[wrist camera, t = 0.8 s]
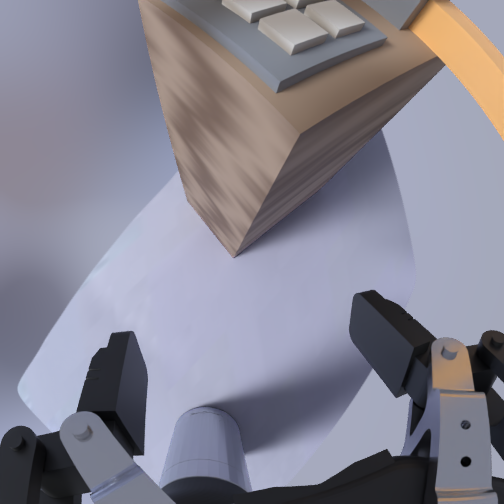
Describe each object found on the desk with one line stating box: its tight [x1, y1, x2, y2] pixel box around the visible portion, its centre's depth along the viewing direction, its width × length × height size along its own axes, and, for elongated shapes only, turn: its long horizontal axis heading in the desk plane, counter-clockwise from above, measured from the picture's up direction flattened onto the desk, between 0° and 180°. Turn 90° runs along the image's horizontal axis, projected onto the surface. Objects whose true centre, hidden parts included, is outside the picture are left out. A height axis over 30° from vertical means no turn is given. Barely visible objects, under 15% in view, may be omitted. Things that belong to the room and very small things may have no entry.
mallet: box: [362, 0, 504, 140], centre depth 8 cm, size 16×4×4 cm, turn 39°
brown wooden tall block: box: [138, 0, 446, 258], centre depth 25 cm, size 10×16×33 cm, turn 129°
